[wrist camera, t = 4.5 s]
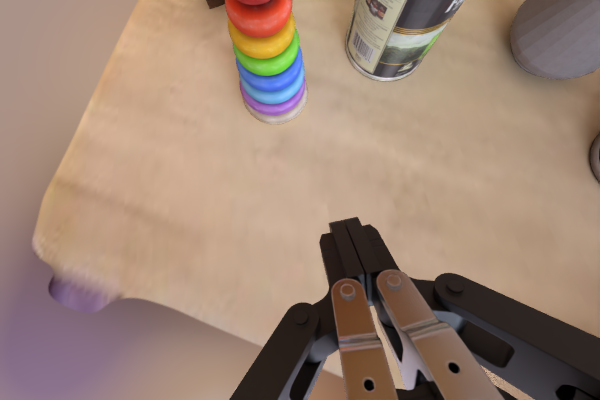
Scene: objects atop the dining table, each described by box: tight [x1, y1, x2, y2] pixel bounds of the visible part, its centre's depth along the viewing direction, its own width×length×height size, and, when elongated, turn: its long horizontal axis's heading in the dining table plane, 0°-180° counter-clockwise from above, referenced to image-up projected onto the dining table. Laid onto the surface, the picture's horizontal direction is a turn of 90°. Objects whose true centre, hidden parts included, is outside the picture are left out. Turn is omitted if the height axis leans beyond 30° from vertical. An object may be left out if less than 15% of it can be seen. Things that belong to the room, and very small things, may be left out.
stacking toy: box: [225, 0, 308, 124], centre depth 22 cm, size 8×8×19 cm
